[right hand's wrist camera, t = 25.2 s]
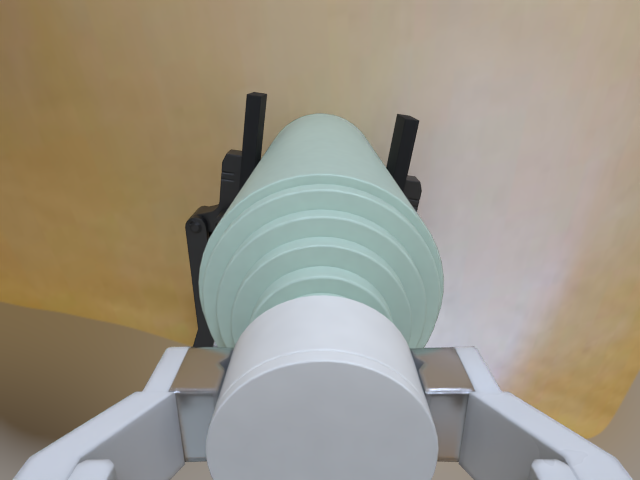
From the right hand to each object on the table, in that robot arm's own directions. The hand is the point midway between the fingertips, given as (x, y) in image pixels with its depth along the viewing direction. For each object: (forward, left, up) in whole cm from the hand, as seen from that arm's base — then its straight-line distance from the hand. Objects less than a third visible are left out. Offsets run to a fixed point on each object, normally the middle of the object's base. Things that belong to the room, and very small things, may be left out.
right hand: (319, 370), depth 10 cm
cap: (0, 0, +2) cm, 2 cm away
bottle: (0, 0, -23) cm, 23 cm away
